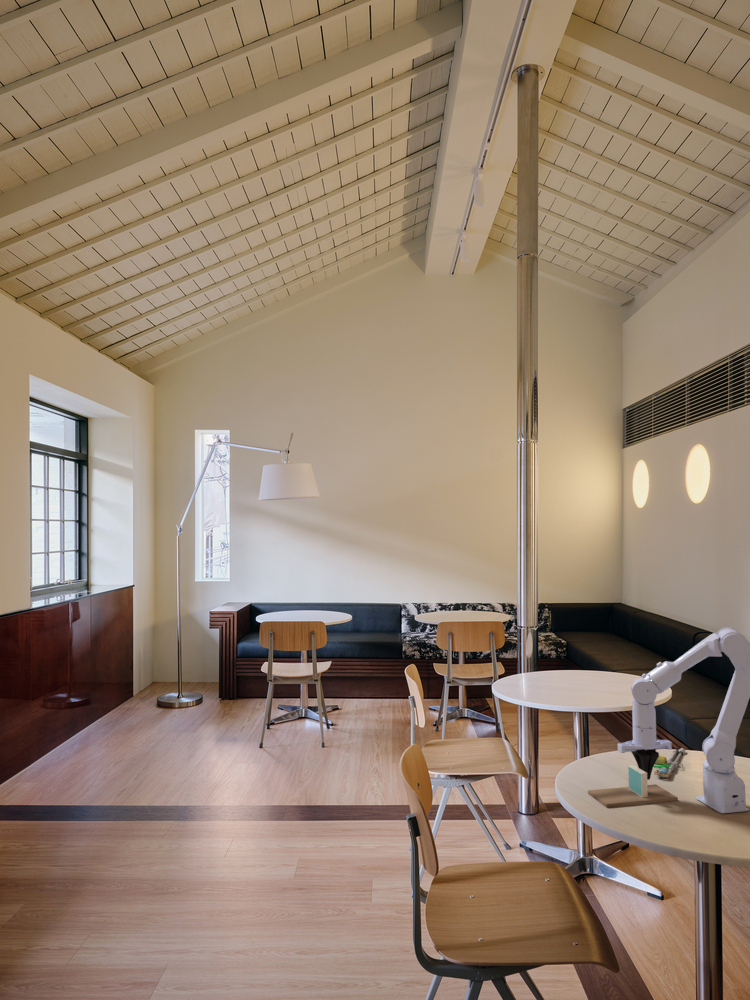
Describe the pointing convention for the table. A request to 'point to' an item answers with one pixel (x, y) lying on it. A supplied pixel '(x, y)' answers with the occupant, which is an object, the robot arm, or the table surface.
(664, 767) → the flamethrower
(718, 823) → the table surface
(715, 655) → the robot arm
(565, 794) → the table surface
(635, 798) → the board
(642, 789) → the tile
